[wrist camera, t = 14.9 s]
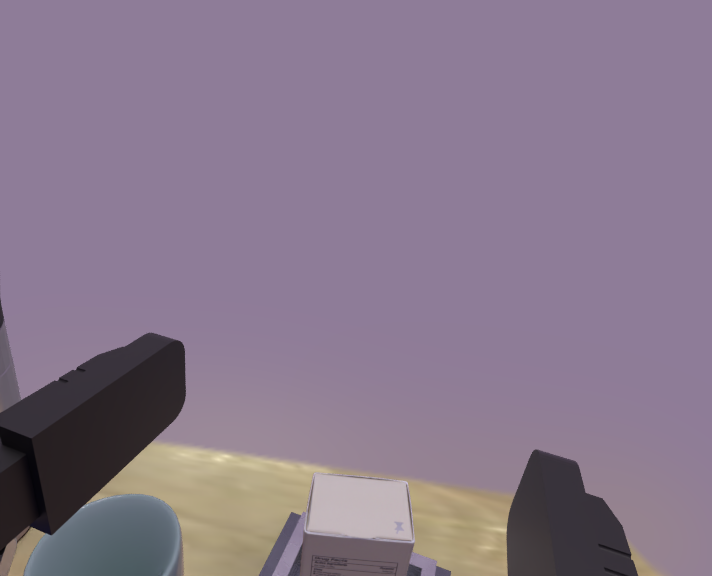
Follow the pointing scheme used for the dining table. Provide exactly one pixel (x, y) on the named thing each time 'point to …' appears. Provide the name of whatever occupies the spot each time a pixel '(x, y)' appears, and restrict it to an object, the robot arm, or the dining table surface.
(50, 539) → the cup
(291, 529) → the tray
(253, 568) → the dining table surface
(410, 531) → the skincare box
